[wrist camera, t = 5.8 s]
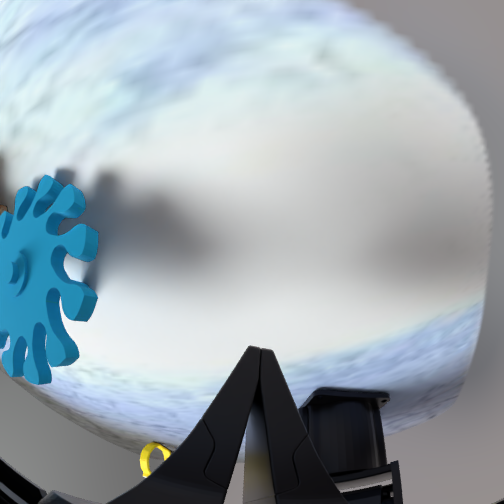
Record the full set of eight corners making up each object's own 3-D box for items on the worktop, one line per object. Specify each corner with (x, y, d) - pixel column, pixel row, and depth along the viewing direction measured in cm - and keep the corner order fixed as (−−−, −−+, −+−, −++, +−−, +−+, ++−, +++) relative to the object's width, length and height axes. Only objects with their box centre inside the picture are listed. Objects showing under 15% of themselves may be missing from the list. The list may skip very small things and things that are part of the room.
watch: (179, 452, 31) (173, 485, 26) (164, 450, 32) (157, 482, 27) (156, 440, 28) (147, 477, 23) (141, 437, 29) (131, 472, 24)
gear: (113, 167, 9) (60, 430, 6) (173, 223, 14) (135, 402, 12) (-2, 173, 10) (-39, 328, 8) (52, 206, 16) (23, 335, 14)
